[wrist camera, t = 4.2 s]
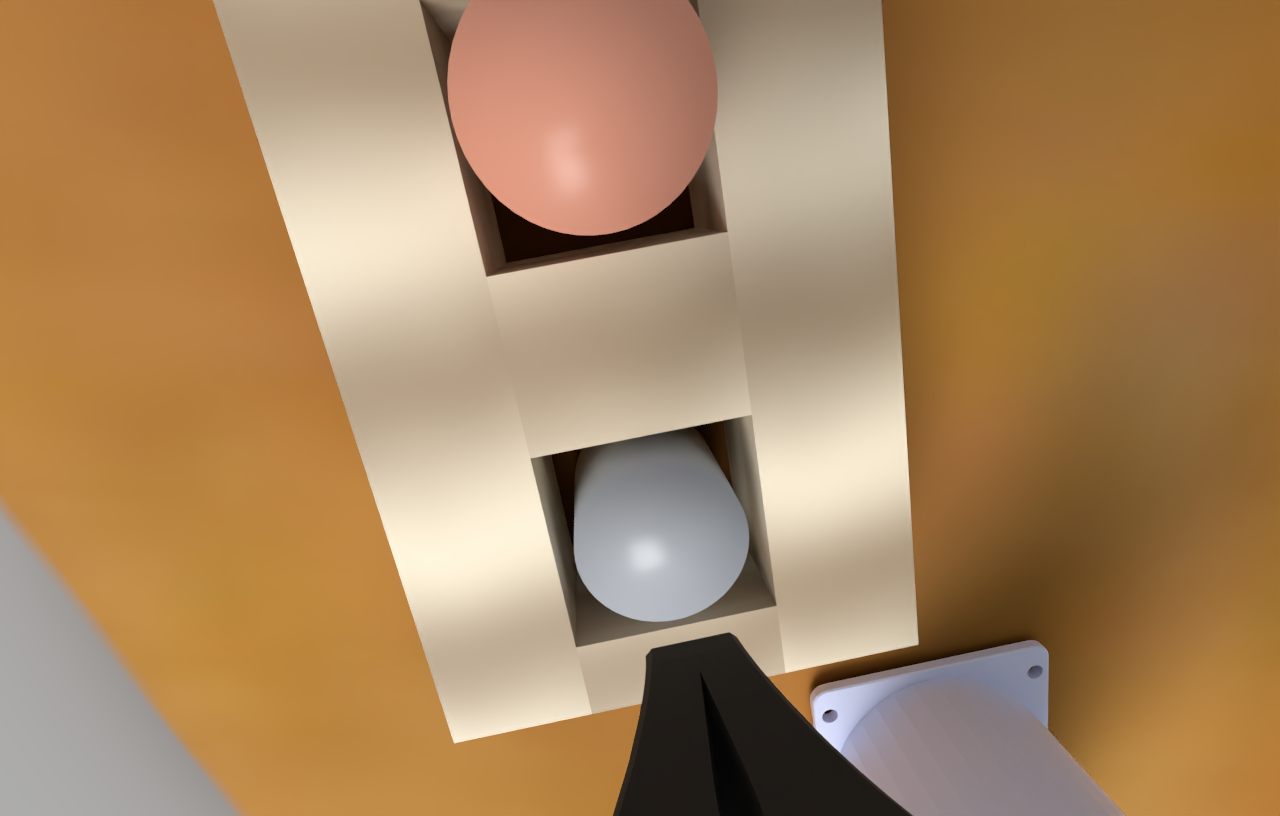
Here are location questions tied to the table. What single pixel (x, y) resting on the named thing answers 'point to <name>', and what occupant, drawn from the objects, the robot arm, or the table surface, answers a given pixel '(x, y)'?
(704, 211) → the button panel
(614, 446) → the grey button
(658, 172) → the terracotta button
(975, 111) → the table surface
